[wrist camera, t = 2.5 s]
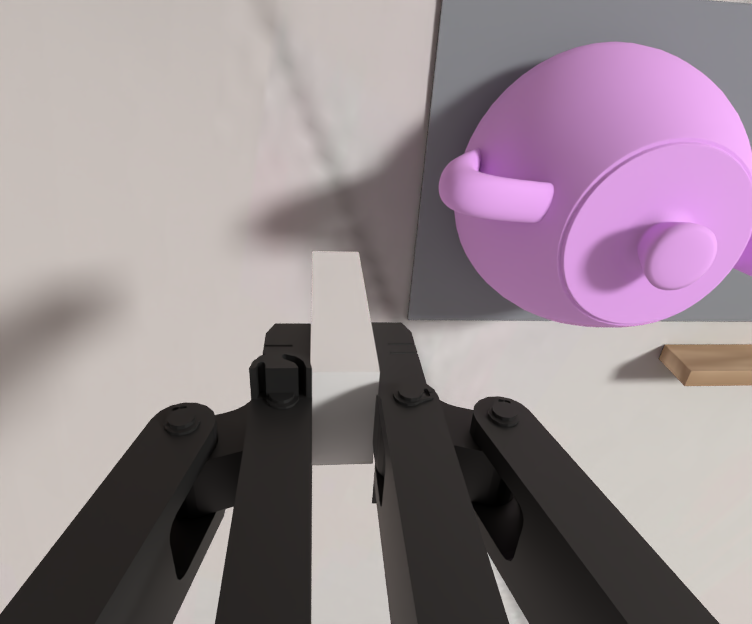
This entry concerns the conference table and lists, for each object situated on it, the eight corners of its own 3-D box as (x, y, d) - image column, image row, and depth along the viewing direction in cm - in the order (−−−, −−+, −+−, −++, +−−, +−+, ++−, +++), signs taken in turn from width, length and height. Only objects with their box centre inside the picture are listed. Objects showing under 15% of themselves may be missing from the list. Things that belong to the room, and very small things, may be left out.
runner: (444, -21, 24) (444, -21, 24) (1075, 29, 28) (1079, 29, 28) (407, 318, 33) (408, 320, 33) (887, 320, 37) (890, 322, 37)
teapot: (668, 318, 35) (793, 431, 26) (377, 256, 31) (402, 365, 21) (803, 103, 28) (1034, 152, 19) (457, -14, 24) (543, -23, 15)
